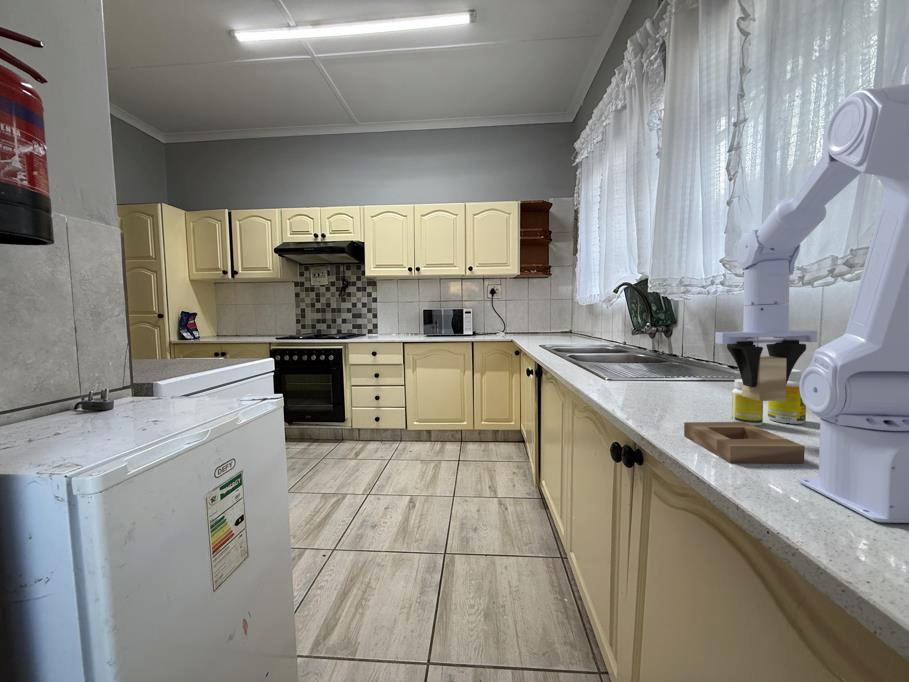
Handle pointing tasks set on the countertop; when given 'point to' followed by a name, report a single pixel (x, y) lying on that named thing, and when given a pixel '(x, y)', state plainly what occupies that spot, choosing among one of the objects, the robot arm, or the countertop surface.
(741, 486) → the countertop surface
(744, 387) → the oak peg
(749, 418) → the supplement bottle
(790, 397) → the supplement bottle
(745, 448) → the collar block
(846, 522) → the countertop surface
